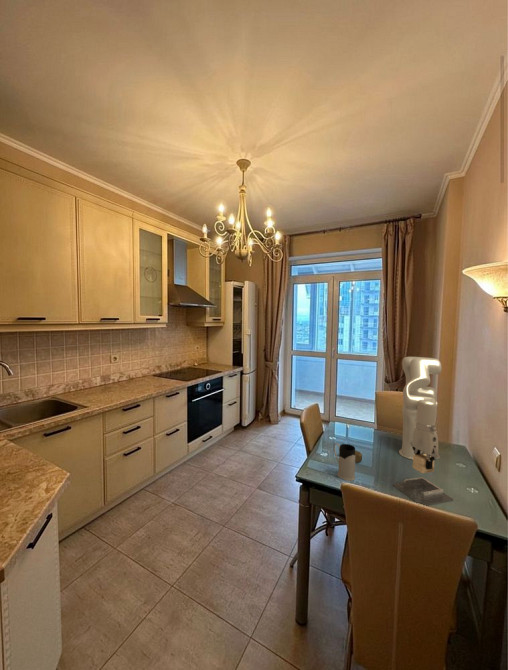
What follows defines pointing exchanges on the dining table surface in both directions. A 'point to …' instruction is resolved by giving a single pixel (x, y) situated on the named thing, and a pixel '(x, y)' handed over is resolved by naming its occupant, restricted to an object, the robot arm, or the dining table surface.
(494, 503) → the dining table surface
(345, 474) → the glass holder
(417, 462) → the oak lock block
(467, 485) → the dining table surface
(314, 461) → the dining table surface
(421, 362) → the robot arm
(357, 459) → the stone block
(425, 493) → the cradle
